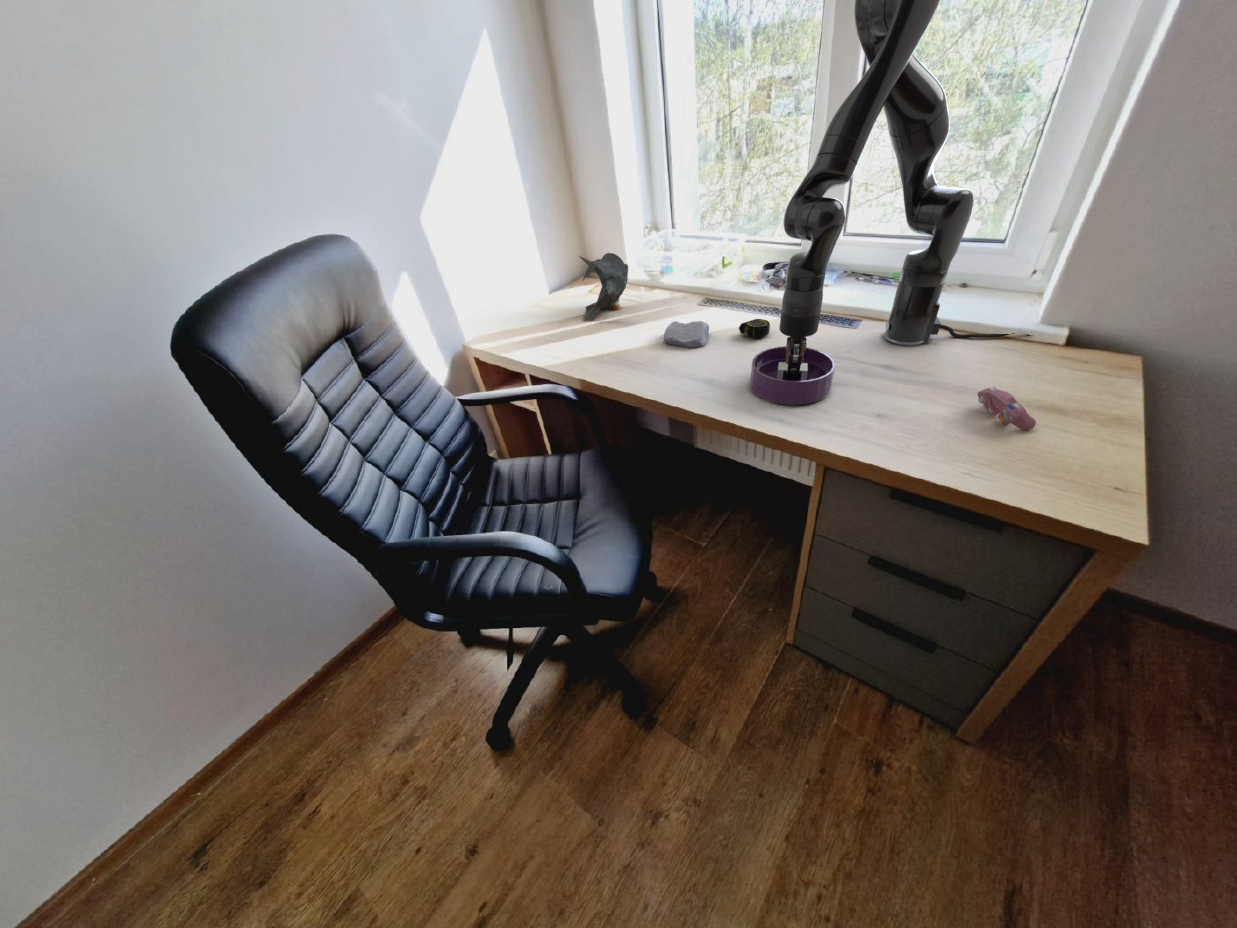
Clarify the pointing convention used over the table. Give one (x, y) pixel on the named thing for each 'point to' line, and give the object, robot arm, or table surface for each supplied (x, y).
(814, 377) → the bowl
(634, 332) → the table surface
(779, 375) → the white box
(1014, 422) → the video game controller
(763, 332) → the tape measure
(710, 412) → the table surface
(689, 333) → the stone block
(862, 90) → the robot arm
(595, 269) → the dark grey bird-shaped figure
